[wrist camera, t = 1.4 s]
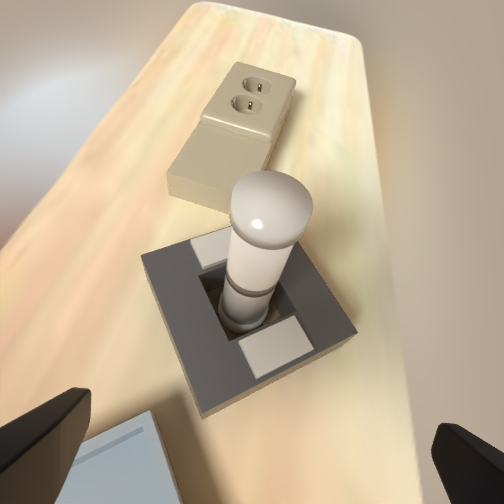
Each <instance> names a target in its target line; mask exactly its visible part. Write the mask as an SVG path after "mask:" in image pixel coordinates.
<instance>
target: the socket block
mask: <svg viewBox="0 0 504 504" xmlns="http://www.w3.org/2000/svg"><path fill="white" fill-rule="evenodd" d="M231 231H232V226H229V227H226V228H223V229H220V230H217V231H214V232H211V233H208V234H205V235H201V236H198V237H195V238H192V239H189V240H186V241H183V242H180V243H177V244H174V245H171V246H168V247H164V248H161V249H158V250H155V251H152V252H149V253H146V254H143V255H141V259H142V262H143V266H144V270H145V273H146V276H147V279H148V282H149V284H150V287H151V289H152V292H153V295H154V297H155V300H156V302H157V305H158V307H159V310H160V313H161V315H162V318H163V320H164V323H165V326H166V328H167V331H168V333H169V336H170V338H171V341H172V344H173V346H174V349H175V351H176V354H177V356H178V359H179V362H180V364H181V367H182V369H183V372H184V375H185V377H186V380H187V382H188V385H189V387H190V390H191V393H192V395H193V398H194V400H195V403H196V406H197V408H198V411H199V413H200V416H201V418H202V420H203V419H204V418H206V417H208V416H210V415H212V414H214V413H216V412H218V411H220V410H222V409H223V408H225V407H227V406H229V405H231V404H233V403H235V402H237V401H239V400H241V399H242V398H244V397H246V396H248V395H250V394H252V393H254V392H256V391H258V390H259V389H261V388H263V387H265V386H267V385H269V384H271V383H273V382H275V381H277V380H278V379H280V378H282V377H284V376H286V375H288V374H290V373H292V372H294V371H296V370H297V369H299V368H301V367H303V366H305V365H307V364H309V363H311V362H313V361H315V360H316V359H318V358H320V357H322V356H324V355H326V354H328V353H330V352H332V351H333V350H335V349H337V348H339V347H341V346H343V345H344V344H345V343H346V342H347V341H349V340H350V339H351V338H352V337H353V336H354V335H356V334H357V333H358V332H357V330H356V329H355V327H354V326H353V324H352V323H351V321H350V320H349V318H348V317H347V315H346V314H345V312H344V311H343V309H342V308H341V306H340V305H339V303H338V301H337V300H336V298H335V297H334V295H333V294H332V292H331V291H330V289H329V288H328V286H327V285H326V283H325V282H324V280H323V279H322V277H321V276H320V274H319V273H318V271H317V270H316V268H315V267H314V265H313V264H312V262H311V261H310V259H309V258H308V256H307V255H306V253H305V252H304V250H303V249H302V247H301V246H300V244H299V243H298V241H297V242H296V243H295V244H294V245H293V247H292V250H291V252H290V254H289V257H288V259H287V261H286V264H285V266H284V268H283V271H282V273H281V276H280V279H279V281H278V283H277V285H276V287H275V289H274V292H273V294H272V297H271V299H272V301H273V302H274V304H275V306H276V308H277V309H278V311H279V313H280V315H281V317H282V318H280V319H278V320H276V321H273V322H271V323H269V324H267V325H265V326H262V327H260V328H258V329H256V330H254V331H251V332H249V333H247V334H245V335H243V336H240V337H238V338H236V339H234V340H232V341H228V338H227V336H226V334H225V332H224V330H223V328H222V326H221V324H220V321H219V319H218V317H217V315H216V313H215V311H214V309H213V307H212V304H211V302H210V300H209V298H208V296H207V294H206V291H209V290H211V289H214V288H216V287H219V286H221V285H224V282H225V275H226V265H227V260H228V253H229V246H230V238H231Z"/></svg>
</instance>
